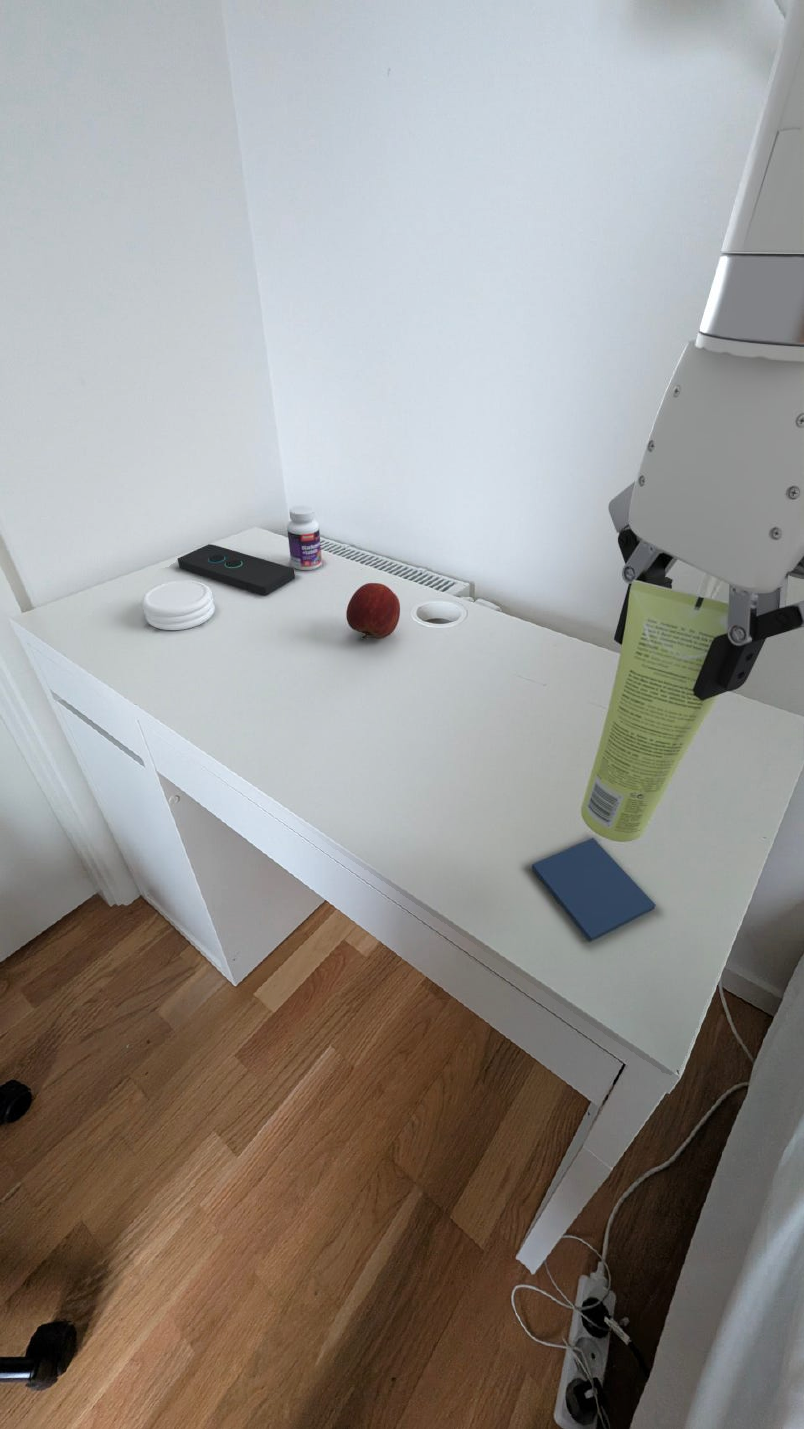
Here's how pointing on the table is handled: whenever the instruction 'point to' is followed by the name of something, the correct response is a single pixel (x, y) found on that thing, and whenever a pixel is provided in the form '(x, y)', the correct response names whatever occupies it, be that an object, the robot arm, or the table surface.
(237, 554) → the smart home device
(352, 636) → the table surface
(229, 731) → the table surface
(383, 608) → the apple
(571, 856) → the mat
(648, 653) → the tube
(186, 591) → the coaster
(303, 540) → the pill bottle
